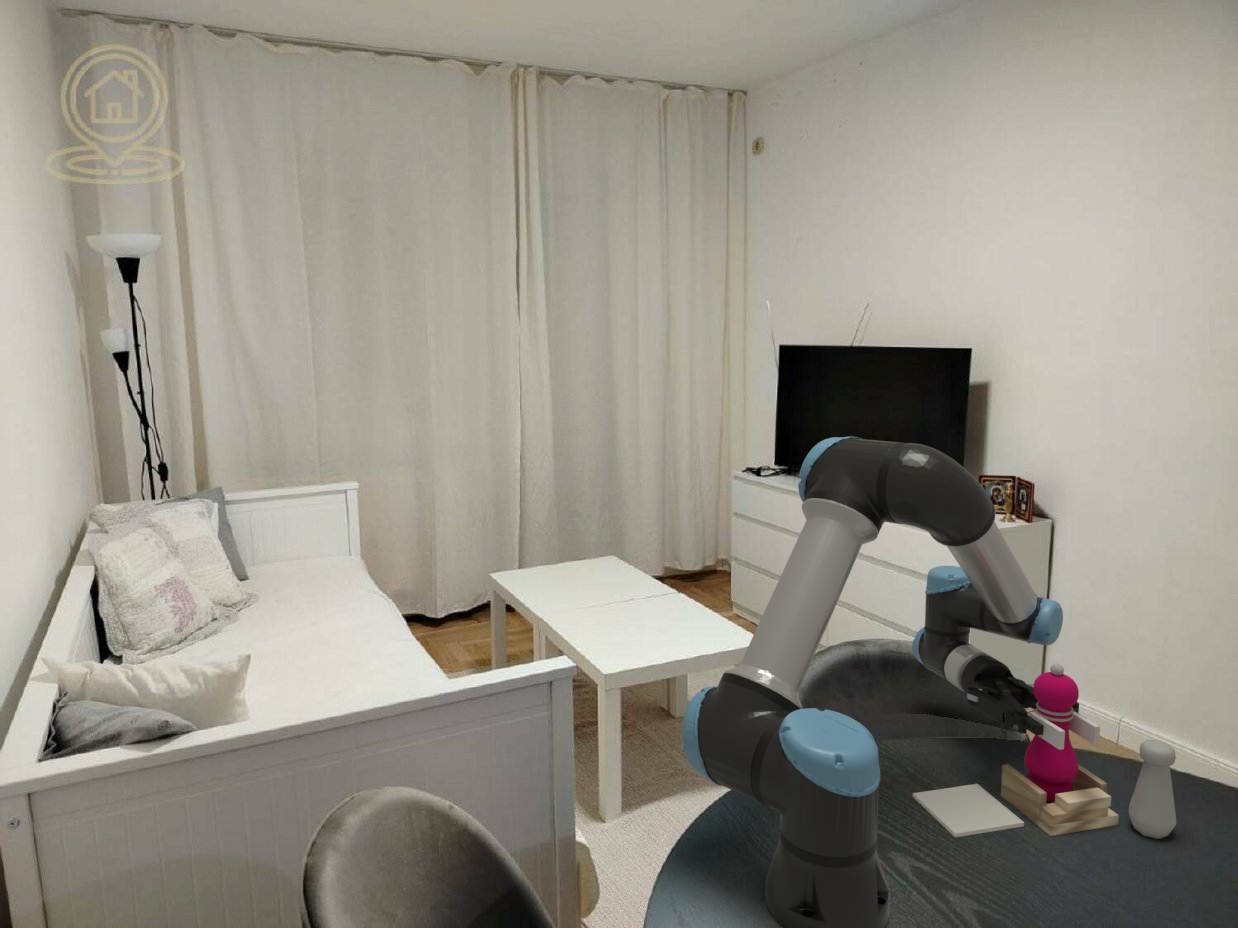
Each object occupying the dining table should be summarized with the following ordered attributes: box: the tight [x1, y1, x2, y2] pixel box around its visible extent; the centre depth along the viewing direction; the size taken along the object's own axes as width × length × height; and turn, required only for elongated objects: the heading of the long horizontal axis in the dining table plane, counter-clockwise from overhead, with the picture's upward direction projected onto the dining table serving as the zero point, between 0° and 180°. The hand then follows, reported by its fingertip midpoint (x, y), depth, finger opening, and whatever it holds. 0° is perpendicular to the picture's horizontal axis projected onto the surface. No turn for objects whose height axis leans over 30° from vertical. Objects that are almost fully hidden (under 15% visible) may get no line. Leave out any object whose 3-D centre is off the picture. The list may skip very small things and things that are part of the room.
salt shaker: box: [1128, 739, 1177, 840], centre depth 123 cm, size 6×6×13 cm
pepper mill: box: [1023, 663, 1080, 803], centre depth 130 cm, size 7×7×20 cm
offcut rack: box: [1000, 763, 1120, 837], centre depth 130 cm, size 11×11×5 cm
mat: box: [912, 783, 1025, 838], centre depth 130 cm, size 11×11×1 cm
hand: (1079, 737), depth 125 cm, fingers closed on pepper mill, 5 cm apart
